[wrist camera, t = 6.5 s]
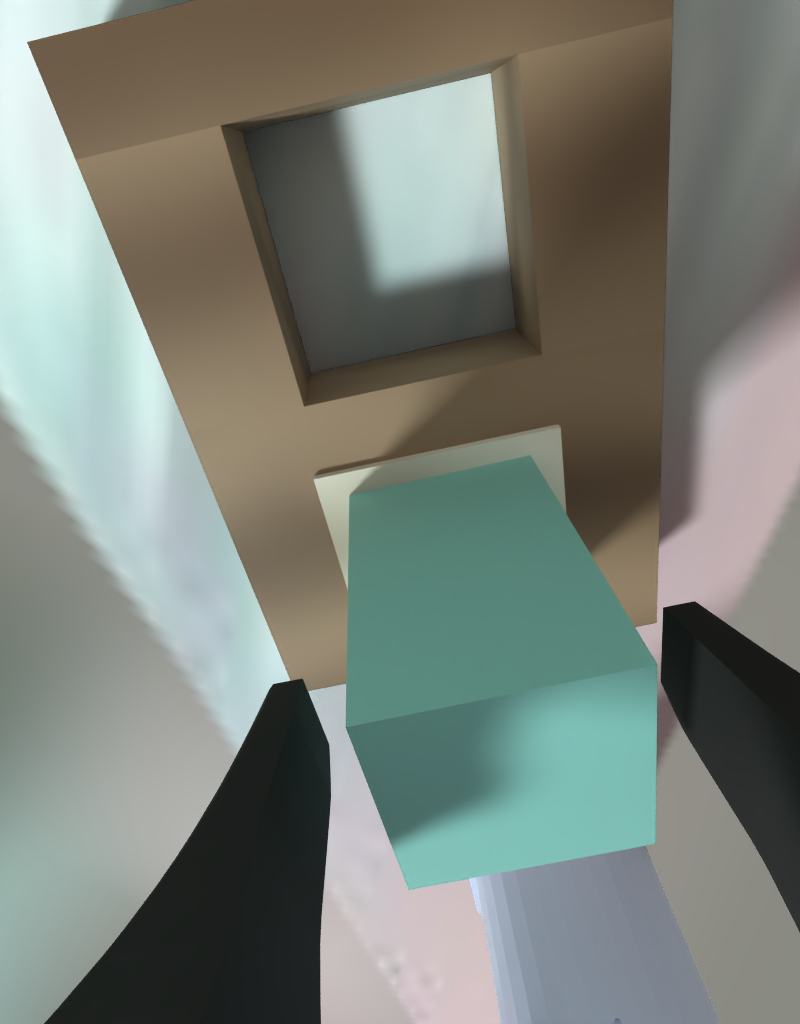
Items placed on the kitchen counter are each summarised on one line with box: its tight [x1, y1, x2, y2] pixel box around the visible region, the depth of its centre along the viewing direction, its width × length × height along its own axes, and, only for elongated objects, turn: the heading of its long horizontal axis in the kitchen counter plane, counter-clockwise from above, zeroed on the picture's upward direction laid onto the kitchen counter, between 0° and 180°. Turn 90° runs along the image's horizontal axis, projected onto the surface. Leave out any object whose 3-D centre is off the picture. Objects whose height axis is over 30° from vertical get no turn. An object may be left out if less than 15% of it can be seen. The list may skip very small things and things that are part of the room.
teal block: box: [346, 455, 657, 890], centre depth 13 cm, size 4×4×7 cm
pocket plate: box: [27, 0, 673, 691], centre depth 15 cm, size 16×11×3 cm
